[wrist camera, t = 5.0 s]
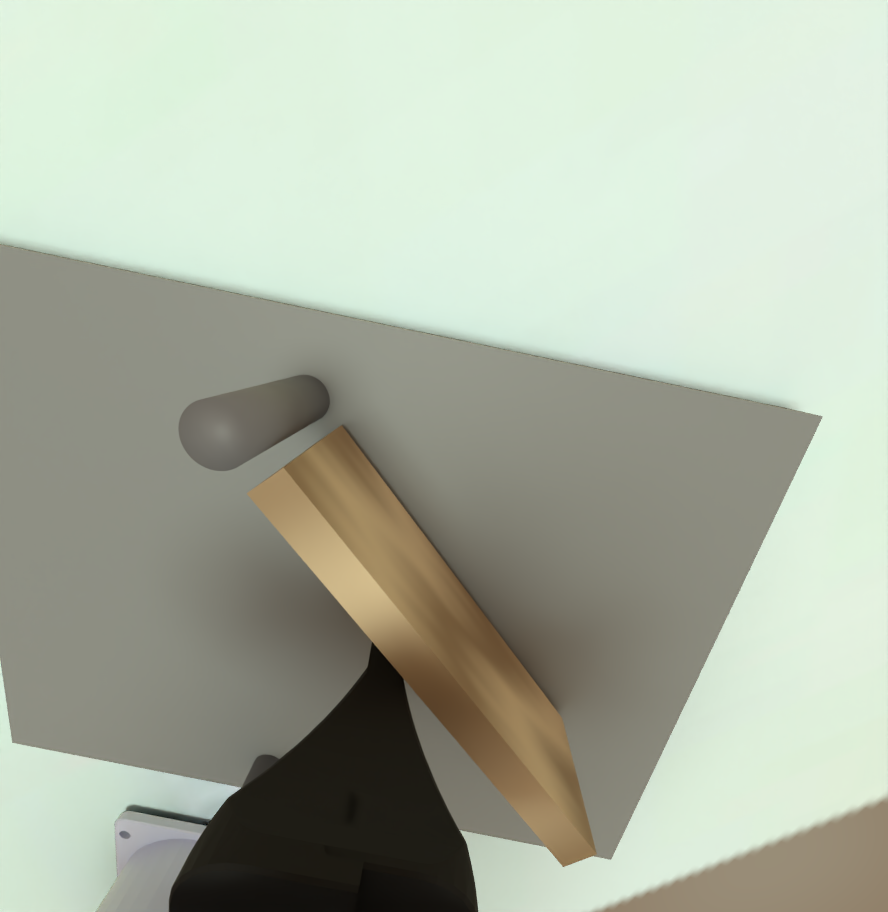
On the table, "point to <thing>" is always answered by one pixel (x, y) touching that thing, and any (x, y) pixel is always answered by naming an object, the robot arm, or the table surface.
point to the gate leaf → (429, 632)
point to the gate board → (291, 580)
